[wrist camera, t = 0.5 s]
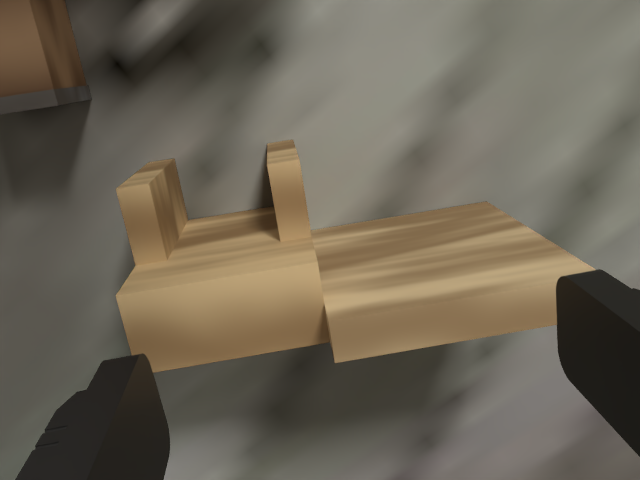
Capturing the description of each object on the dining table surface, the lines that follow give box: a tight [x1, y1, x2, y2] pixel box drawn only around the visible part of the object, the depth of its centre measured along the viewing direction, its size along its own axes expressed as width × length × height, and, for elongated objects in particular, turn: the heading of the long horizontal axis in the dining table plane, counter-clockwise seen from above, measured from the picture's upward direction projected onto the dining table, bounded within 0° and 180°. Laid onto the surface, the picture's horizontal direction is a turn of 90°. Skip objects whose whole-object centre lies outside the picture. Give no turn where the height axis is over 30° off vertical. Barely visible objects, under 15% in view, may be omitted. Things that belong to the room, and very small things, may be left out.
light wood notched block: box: [116, 140, 595, 373], centre depth 31 cm, size 8×21×14 cm, turn 98°
